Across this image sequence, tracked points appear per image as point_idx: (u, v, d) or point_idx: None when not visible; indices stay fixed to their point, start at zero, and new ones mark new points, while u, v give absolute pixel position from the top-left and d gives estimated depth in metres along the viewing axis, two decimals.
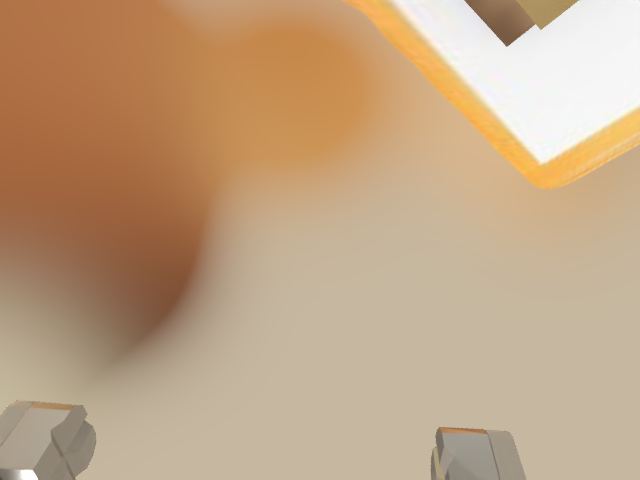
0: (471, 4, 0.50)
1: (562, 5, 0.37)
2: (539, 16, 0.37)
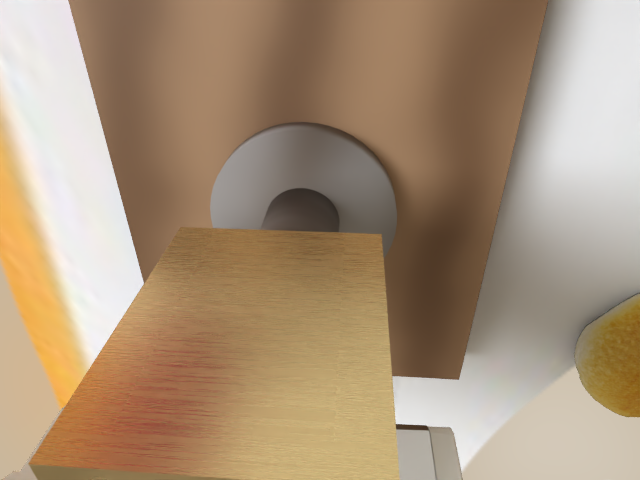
0: (142, 260, 0.22)
1: None
2: None
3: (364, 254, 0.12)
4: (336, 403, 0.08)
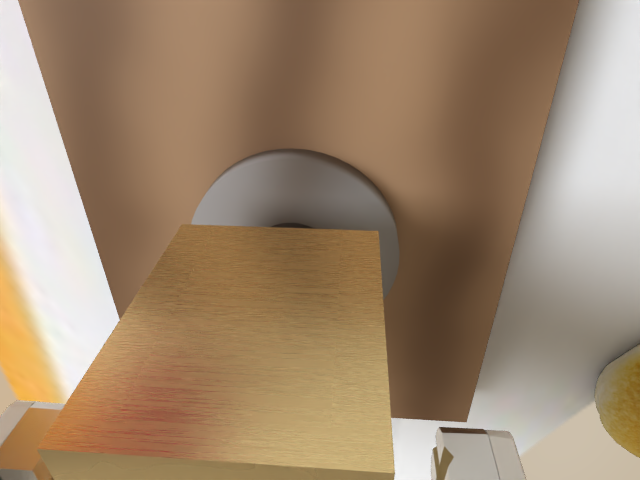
0: (117, 296, 0.19)
1: None
2: None
3: (361, 250, 0.12)
4: (333, 391, 0.08)
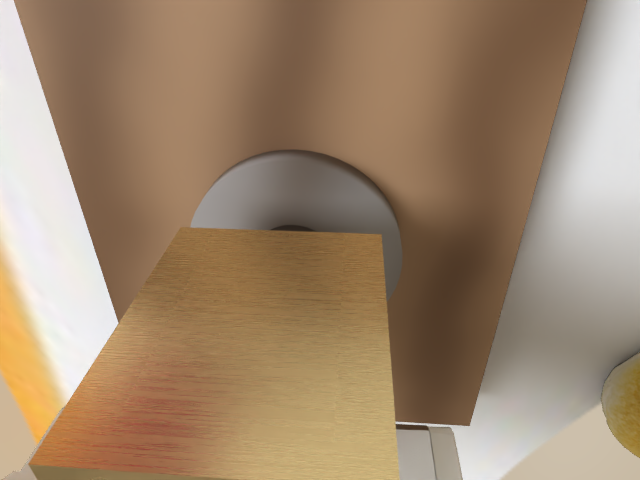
0: (115, 298, 0.19)
1: None
2: None
3: (364, 254, 0.12)
4: (336, 403, 0.08)
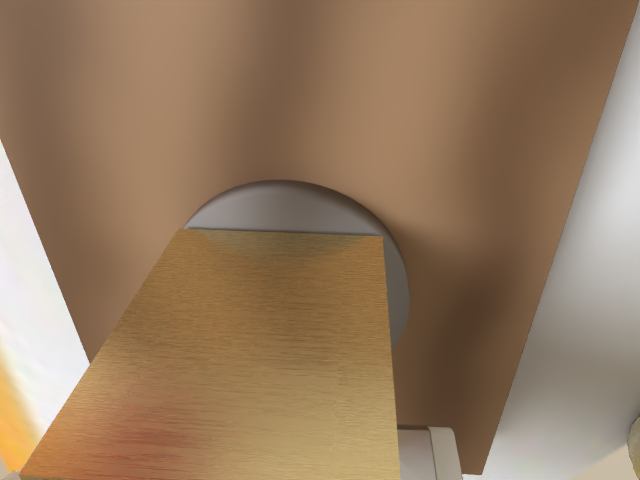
0: (85, 339, 0.17)
1: None
2: None
3: (365, 257, 0.11)
4: (336, 412, 0.08)
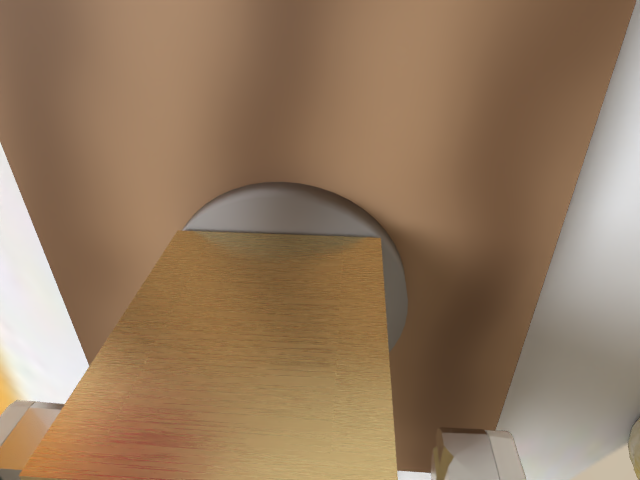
0: (85, 341, 0.17)
1: None
2: None
3: (363, 258, 0.11)
4: (334, 412, 0.08)
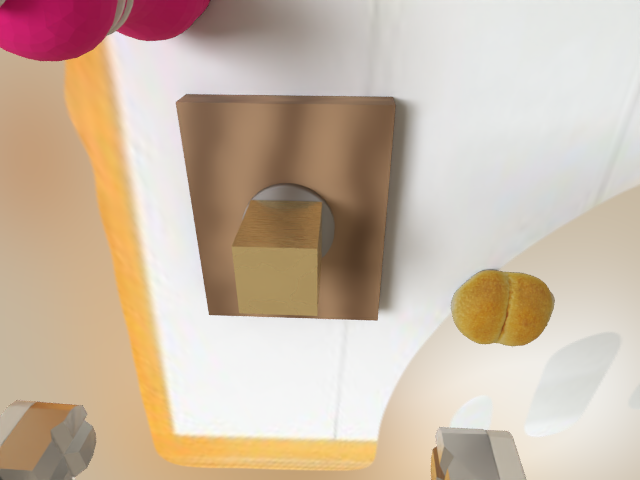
0: (201, 253, 0.40)
1: (268, 308, 0.32)
2: (245, 301, 0.32)
3: (315, 207, 0.35)
4: (303, 237, 0.31)
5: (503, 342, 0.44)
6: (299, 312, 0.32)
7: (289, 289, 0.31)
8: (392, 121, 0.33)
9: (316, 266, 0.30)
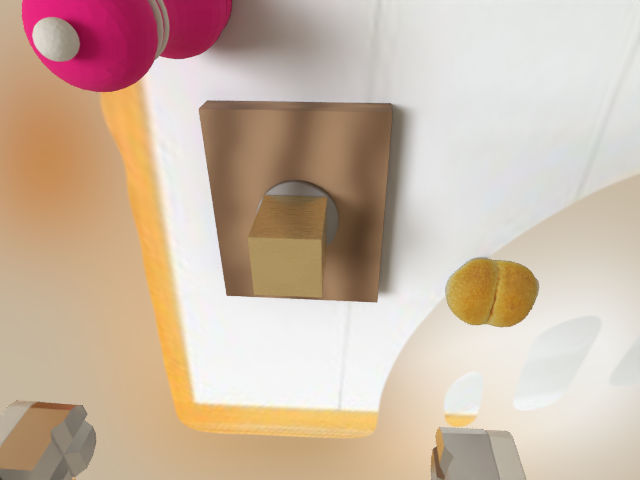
0: (220, 240, 0.45)
1: (279, 290, 0.37)
2: (259, 284, 0.37)
3: (321, 202, 0.39)
4: (310, 229, 0.36)
5: (492, 323, 0.48)
6: (306, 294, 0.37)
7: (297, 274, 0.36)
8: (389, 126, 0.38)
9: (320, 254, 0.35)
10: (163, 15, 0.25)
